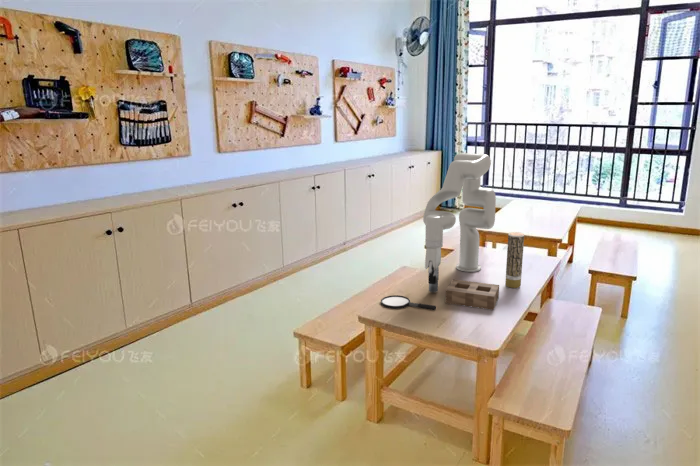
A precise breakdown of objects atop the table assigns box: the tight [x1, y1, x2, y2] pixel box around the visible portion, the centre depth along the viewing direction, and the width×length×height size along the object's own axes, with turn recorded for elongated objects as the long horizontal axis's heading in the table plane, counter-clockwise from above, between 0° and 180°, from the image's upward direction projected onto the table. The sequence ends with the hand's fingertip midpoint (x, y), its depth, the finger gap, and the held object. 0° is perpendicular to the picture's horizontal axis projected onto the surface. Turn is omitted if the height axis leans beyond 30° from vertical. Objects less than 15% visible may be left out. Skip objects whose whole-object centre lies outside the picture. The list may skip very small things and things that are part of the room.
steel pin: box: [428, 268, 439, 293], centre depth 217 cm, size 4×4×12 cm
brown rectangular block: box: [445, 278, 500, 311], centre depth 209 cm, size 14×20×6 cm
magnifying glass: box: [380, 294, 437, 311], centre depth 206 cm, size 12×24×2 cm, turn 63°
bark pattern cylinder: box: [504, 231, 525, 289], centre depth 222 cm, size 7×7×25 cm
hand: (433, 281), depth 218 cm, fingers closed on steel pin, 4 cm apart
